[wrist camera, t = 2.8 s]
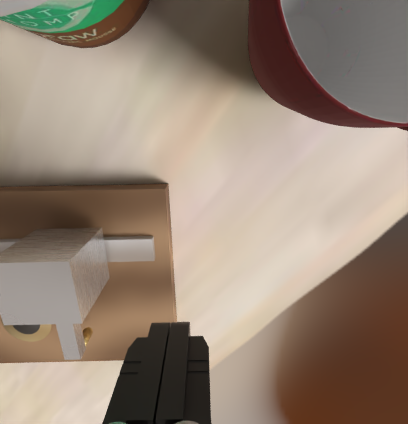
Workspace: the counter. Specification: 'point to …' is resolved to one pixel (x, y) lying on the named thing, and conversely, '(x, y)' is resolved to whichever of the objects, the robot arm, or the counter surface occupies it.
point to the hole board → (116, 259)
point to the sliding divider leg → (54, 282)
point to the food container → (74, 19)
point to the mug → (333, 58)
